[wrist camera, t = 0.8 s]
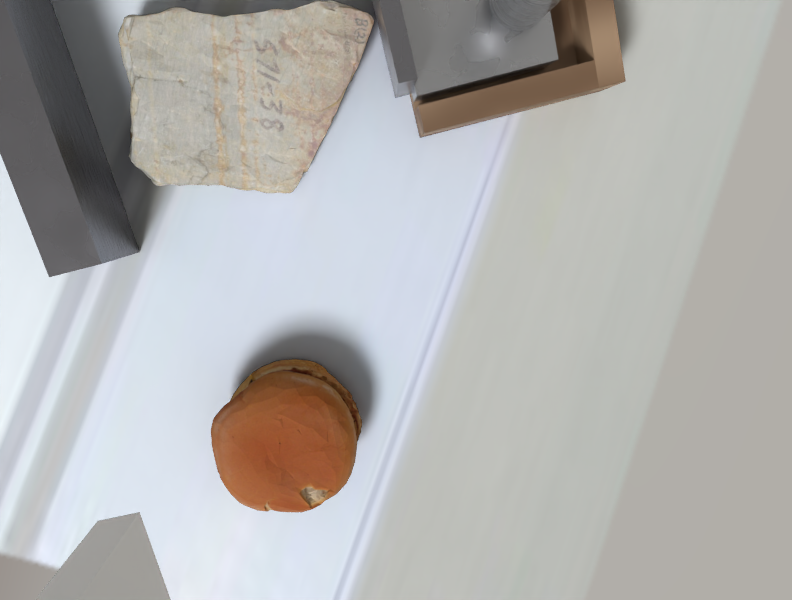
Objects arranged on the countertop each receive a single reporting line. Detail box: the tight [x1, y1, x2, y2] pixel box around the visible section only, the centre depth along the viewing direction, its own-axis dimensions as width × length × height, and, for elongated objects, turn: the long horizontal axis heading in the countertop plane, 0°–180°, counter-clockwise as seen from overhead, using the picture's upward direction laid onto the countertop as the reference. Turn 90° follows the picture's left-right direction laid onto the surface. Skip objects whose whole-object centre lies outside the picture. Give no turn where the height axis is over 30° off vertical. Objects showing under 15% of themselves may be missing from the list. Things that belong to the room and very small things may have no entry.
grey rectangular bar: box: [0, 0, 139, 277], centre depth 31 cm, size 16×3×5 cm, turn 14°
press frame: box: [410, 0, 625, 138], centre depth 31 cm, size 11×12×4 cm
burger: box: [211, 359, 362, 512], centre depth 36 cm, size 10×9×5 cm
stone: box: [118, 0, 374, 193], centre depth 33 cm, size 15×11×3 cm
